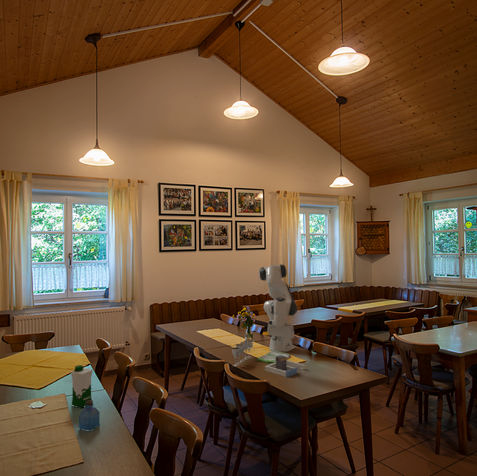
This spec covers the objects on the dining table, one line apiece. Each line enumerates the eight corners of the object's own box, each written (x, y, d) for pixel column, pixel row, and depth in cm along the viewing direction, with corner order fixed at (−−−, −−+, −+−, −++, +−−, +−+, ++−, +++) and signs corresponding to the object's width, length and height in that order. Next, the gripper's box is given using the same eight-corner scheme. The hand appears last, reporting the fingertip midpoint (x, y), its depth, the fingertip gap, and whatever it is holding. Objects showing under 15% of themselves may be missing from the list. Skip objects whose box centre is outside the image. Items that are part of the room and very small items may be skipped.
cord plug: (280, 370, 251) (280, 355, 251) (286, 371, 248) (286, 356, 248) (275, 371, 248) (275, 356, 248) (281, 373, 244) (281, 358, 244)
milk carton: (81, 400, 204) (82, 363, 204) (94, 403, 200) (94, 365, 201) (69, 406, 196) (69, 368, 196) (82, 409, 192) (82, 370, 193)
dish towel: (291, 357, 282) (291, 352, 282) (276, 365, 262) (276, 360, 263) (271, 354, 291) (271, 349, 291) (255, 361, 272) (255, 356, 272)
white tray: (284, 363, 265) (284, 358, 265) (306, 369, 251) (306, 364, 251) (264, 370, 250) (264, 365, 251) (287, 377, 237) (287, 371, 237)
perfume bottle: (78, 429, 171) (79, 403, 171) (88, 423, 177) (88, 398, 177) (89, 432, 169) (89, 405, 169) (99, 425, 174) (99, 399, 175)
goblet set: (238, 367, 259) (237, 347, 259) (230, 366, 262) (230, 346, 262) (254, 356, 284) (253, 338, 285) (247, 355, 287) (247, 338, 287)
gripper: (296, 323, 243) (296, 345, 243) (272, 319, 258) (272, 340, 257) (290, 325, 239) (290, 347, 238) (265, 321, 253) (266, 341, 253)
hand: (280, 343), depth 248 cm, fingers closed
